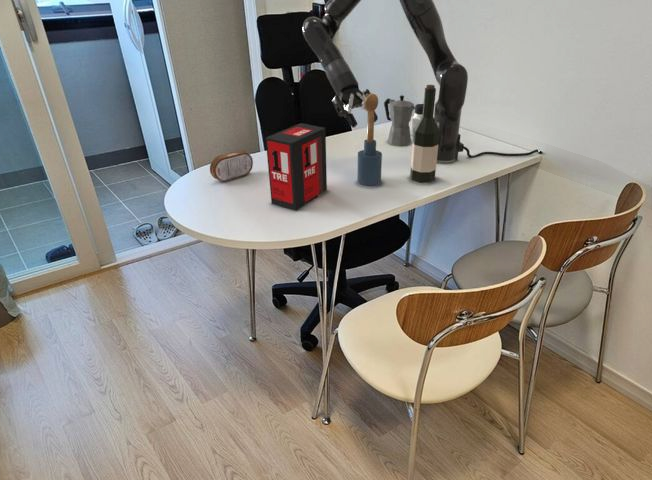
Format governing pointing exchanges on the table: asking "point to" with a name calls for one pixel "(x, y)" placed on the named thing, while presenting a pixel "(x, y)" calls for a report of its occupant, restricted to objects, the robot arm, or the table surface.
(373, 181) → the bottle
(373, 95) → the spoon
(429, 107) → the wine bottle
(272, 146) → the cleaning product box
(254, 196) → the table surface
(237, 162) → the tin
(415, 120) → the medicine bottle
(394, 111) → the coffeepot
